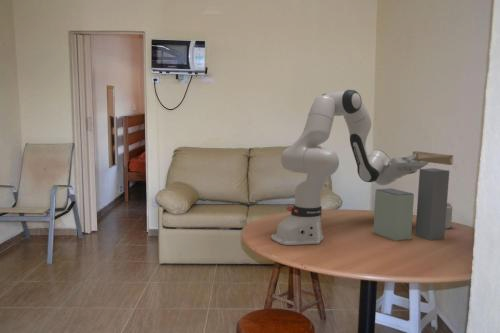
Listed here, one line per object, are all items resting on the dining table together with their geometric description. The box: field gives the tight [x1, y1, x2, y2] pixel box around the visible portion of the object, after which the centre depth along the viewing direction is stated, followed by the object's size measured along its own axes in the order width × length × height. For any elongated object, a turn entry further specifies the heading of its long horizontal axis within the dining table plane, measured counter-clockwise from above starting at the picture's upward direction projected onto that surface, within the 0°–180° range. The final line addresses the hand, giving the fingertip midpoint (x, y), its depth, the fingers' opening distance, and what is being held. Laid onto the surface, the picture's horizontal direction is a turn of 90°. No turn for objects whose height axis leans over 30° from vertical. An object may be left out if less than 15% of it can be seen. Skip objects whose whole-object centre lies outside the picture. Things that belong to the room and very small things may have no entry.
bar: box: [412, 150, 454, 166], centre depth 195 cm, size 2×20×4 cm, turn 25°
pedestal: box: [415, 167, 450, 241], centre depth 195 cm, size 9×8×30 cm
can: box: [445, 202, 453, 230], centre depth 213 cm, size 8×8×12 cm
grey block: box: [372, 187, 415, 242], centre depth 197 cm, size 9×14×20 cm, turn 25°
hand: (420, 155), depth 201 cm, fingers closed on bar, 2 cm apart
